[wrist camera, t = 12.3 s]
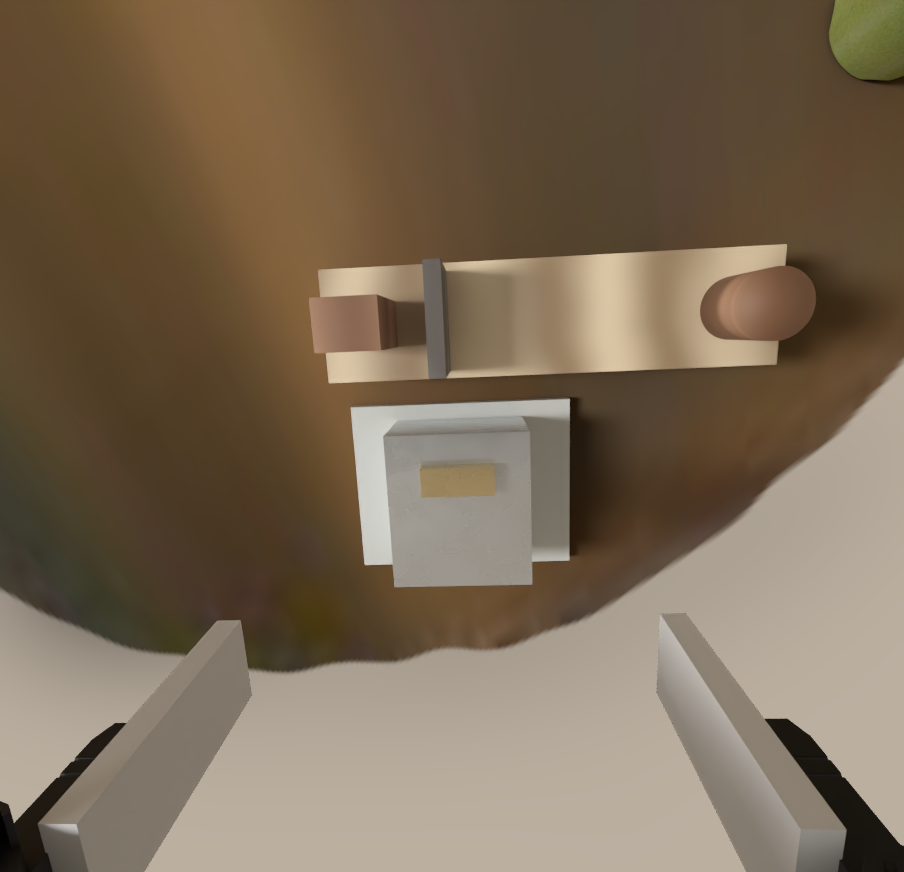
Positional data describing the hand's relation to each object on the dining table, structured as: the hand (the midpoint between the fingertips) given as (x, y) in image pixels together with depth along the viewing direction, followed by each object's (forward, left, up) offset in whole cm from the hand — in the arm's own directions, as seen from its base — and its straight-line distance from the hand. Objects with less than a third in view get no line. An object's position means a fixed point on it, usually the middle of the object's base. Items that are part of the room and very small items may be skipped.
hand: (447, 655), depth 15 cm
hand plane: (+5, +10, -18) cm, 22 cm away
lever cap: (0, 0, -18) cm, 18 cm away
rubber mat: (0, 0, -18) cm, 18 cm away
